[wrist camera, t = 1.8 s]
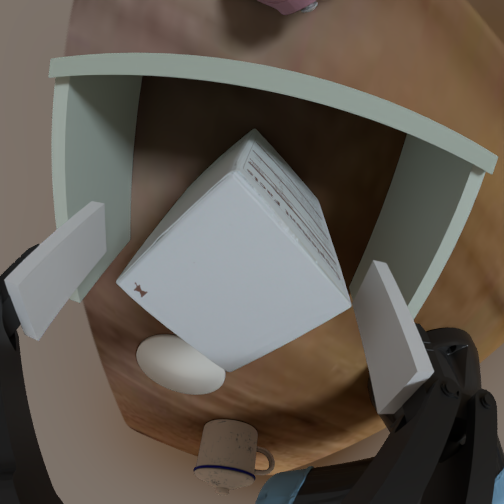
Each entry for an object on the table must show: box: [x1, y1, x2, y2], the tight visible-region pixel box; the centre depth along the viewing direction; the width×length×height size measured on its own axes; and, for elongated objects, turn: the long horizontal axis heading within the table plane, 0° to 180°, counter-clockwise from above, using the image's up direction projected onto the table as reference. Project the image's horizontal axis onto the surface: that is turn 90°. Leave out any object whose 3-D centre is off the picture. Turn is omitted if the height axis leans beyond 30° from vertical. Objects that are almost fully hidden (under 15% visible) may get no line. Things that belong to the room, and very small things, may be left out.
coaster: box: [136, 334, 226, 394], centre depth 34 cm, size 11×11×1 cm
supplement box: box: [116, 129, 351, 372], centre depth 17 cm, size 7×7×13 cm
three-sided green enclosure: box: [49, 53, 498, 320], centre depth 18 cm, size 15×22×10 cm
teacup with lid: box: [194, 419, 275, 495], centre depth 37 cm, size 12×9×12 cm
